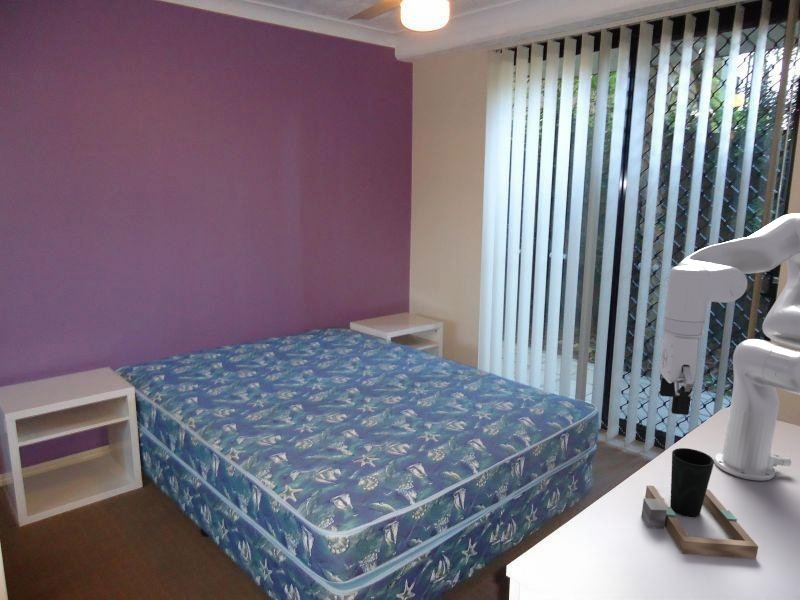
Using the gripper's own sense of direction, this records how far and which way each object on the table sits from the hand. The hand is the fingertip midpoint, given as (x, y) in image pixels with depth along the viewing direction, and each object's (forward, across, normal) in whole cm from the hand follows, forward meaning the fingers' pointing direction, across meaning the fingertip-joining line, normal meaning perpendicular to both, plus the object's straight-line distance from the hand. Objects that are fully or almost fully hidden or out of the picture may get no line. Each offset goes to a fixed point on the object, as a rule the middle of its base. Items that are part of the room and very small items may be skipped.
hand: (673, 404), depth 121 cm
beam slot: (+20, +12, +2) cm, 24 cm away
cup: (+21, +6, +3) cm, 22 cm away
